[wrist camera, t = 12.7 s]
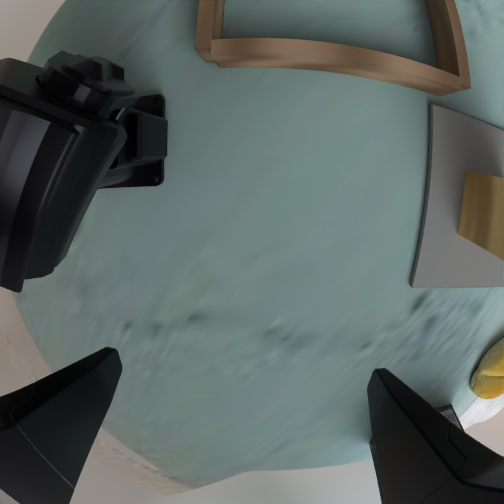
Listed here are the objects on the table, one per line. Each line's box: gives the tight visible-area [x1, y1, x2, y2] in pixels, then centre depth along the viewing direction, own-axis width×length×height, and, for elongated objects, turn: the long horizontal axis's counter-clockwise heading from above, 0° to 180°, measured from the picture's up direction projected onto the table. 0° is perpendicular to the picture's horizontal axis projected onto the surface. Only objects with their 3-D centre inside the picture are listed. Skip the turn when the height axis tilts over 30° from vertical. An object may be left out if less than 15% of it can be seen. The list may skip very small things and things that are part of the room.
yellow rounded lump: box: [470, 337, 504, 399], centre depth 20 cm, size 8×9×4 cm
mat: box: [410, 104, 504, 288], centre depth 17 cm, size 12×14×1 cm
